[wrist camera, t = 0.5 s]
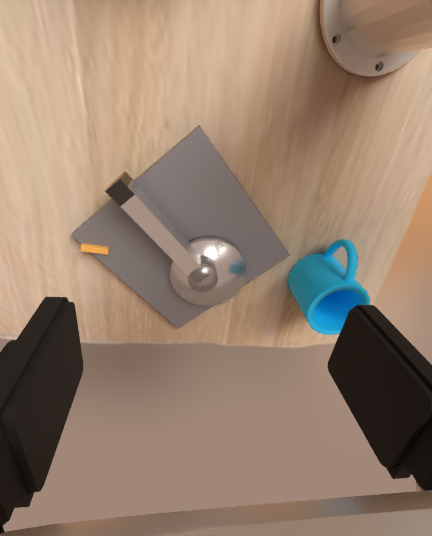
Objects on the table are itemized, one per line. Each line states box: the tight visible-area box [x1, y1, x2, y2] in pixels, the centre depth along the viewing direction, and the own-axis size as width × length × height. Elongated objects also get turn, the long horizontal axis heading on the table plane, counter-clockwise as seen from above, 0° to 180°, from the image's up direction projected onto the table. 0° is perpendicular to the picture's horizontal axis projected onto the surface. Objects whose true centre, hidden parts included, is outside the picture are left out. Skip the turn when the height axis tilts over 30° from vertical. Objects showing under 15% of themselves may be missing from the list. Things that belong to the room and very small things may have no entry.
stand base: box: [71, 126, 289, 329], centre depth 39 cm, size 20×20×2 cm
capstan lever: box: [105, 172, 246, 305], centre depth 36 cm, size 10×21×5 cm, turn 37°
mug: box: [288, 239, 370, 335], centre depth 40 cm, size 12×8×8 cm
